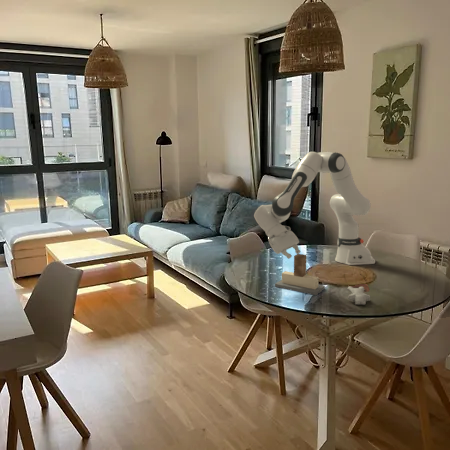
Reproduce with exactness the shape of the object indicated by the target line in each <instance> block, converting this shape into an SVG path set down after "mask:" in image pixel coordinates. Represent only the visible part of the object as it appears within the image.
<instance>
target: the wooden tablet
mask: <svg viewBox="0 0 450 450" xmlns="http://www.w3.org/2000/svg"><path fill="white" fill-rule="evenodd" d="M350 287H353V288H359V287H364V293H368V292H370V287H369V285H368V283H367V284H359V285H355V286H350Z"/></svg>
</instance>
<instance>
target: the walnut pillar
mask: <svg viewBox="0 0 450 450" xmlns="http://www.w3.org/2000/svg"><path fill="white" fill-rule="evenodd" d="M293 273H294V276H299V277H303V276H305V275H307V254H301V253H299V254H295V255H293Z"/></svg>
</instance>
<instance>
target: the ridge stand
mask: <svg viewBox="0 0 450 450" xmlns="http://www.w3.org/2000/svg"><path fill="white" fill-rule="evenodd" d="M274 287H276V288H281V289H285V290H290V291H294V292H297V293H298V292H299V293H303V294H308V295H314V296H317V295H319V294H320V293H321V292H323V291H324V290H325V288H326V286H325V285H322V284H319V276H313V275H307V274H306V275H305V276H303V277H299V276H294V271H293V272H292V271H288V270H287V271H286V270H285V271H283V272H281V280H279V281H277V282H275V283H274ZM323 289H324V290H323ZM322 290H323V291H322ZM318 293H319V294H318Z"/></svg>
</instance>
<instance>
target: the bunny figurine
mask: <svg viewBox="0 0 450 450" xmlns="http://www.w3.org/2000/svg"><path fill="white" fill-rule="evenodd" d="M347 291H349V292H351V293H350V294H348V299H347V300H348V301H352V302H354V305H362V306H363V305H366V302H369V301H371V295H369V294H367V293H366V292H364V287H359V288H353V287H350V286H349V285H348V287H347Z"/></svg>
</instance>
